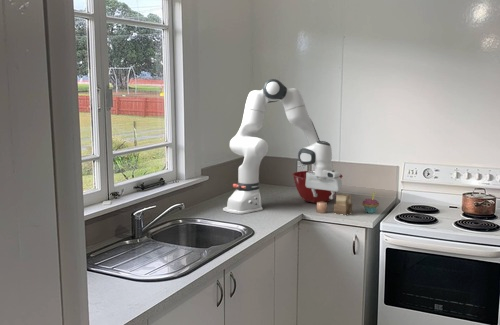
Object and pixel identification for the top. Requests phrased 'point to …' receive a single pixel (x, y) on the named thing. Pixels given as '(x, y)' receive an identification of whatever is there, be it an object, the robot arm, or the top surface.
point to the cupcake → (370, 204)
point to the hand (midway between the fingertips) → (323, 197)
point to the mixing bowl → (310, 189)
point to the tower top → (343, 199)
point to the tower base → (343, 209)
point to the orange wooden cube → (321, 207)
